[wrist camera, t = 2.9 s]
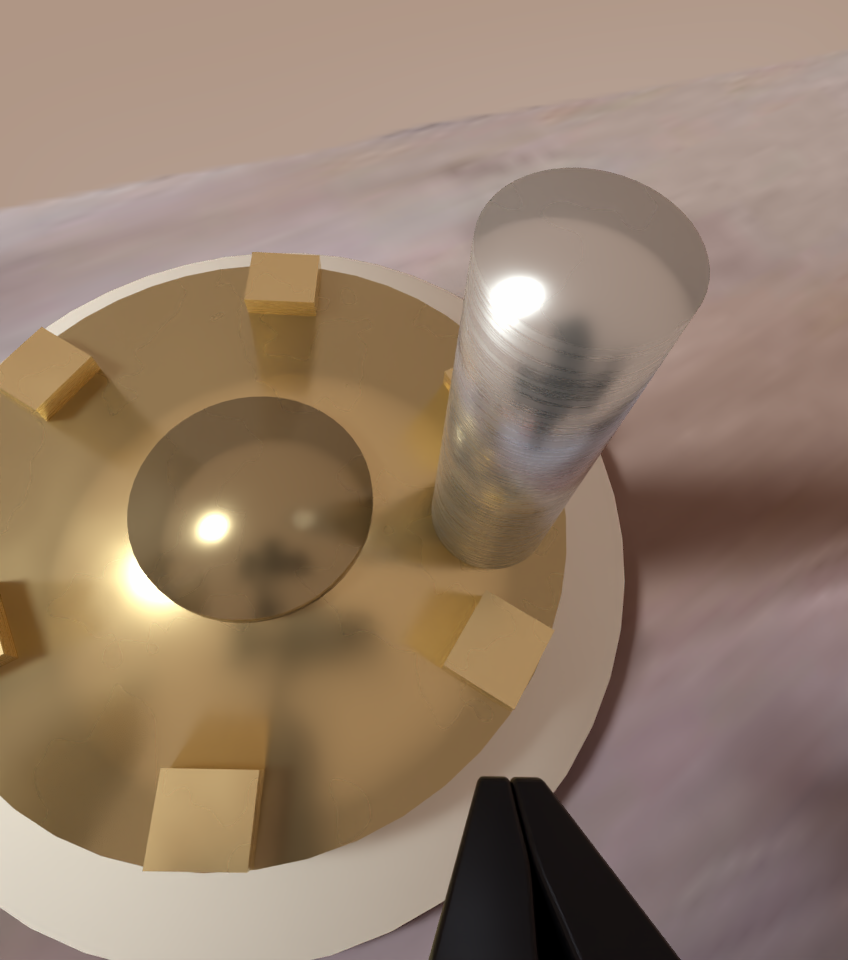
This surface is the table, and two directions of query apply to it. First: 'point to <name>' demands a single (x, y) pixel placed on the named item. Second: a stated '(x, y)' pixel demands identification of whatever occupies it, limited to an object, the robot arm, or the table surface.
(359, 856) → the base plate
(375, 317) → the brass lugged disc
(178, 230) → the table surface
